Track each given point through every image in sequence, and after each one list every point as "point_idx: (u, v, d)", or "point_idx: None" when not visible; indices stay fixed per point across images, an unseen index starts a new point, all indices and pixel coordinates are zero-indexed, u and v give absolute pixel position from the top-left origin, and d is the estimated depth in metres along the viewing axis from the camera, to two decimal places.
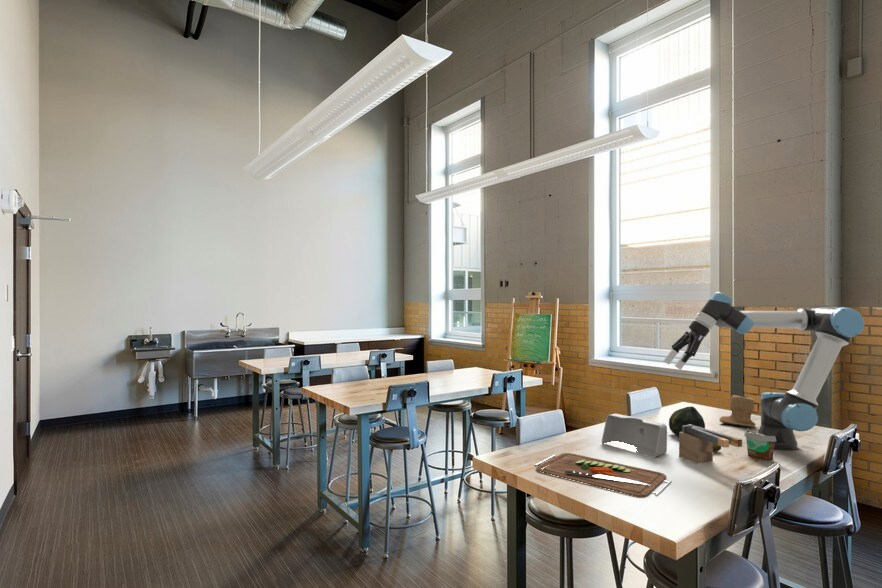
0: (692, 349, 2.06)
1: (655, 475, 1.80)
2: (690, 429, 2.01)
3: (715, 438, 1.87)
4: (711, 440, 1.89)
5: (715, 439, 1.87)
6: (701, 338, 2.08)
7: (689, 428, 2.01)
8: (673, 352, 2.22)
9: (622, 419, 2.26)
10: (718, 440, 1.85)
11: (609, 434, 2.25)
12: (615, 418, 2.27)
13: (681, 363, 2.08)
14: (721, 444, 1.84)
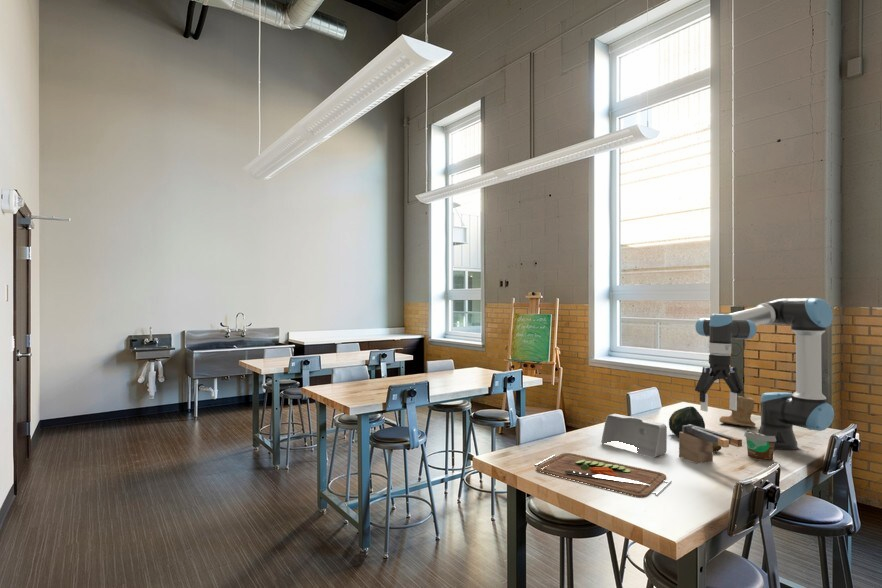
0: None
1: (655, 475, 1.80)
2: (690, 429, 2.01)
3: (715, 438, 1.87)
4: (711, 440, 1.89)
5: (715, 439, 1.87)
6: None
7: (689, 428, 2.01)
8: None
9: (622, 419, 2.26)
10: (718, 440, 1.85)
11: (609, 434, 2.25)
12: (615, 418, 2.27)
13: None
14: (721, 444, 1.84)
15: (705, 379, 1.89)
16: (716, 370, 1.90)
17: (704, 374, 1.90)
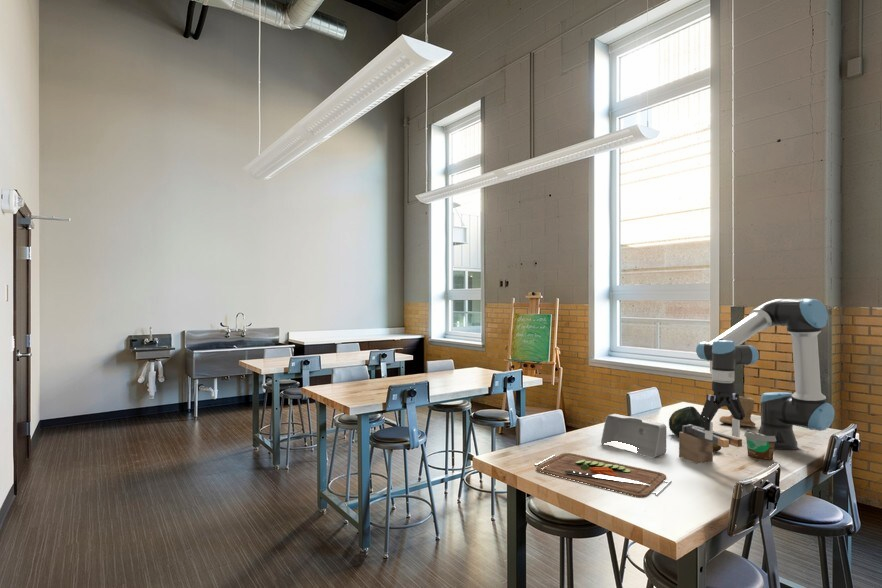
0: None
1: (655, 475, 1.80)
2: (690, 429, 2.01)
3: (715, 438, 1.87)
4: (711, 440, 1.89)
5: (715, 439, 1.87)
6: None
7: (689, 428, 2.01)
8: None
9: (621, 419, 2.26)
10: (718, 440, 1.85)
11: (608, 434, 2.25)
12: (614, 418, 2.27)
13: None
14: (721, 444, 1.84)
15: (710, 407, 1.86)
16: (720, 398, 1.88)
17: (708, 402, 1.87)
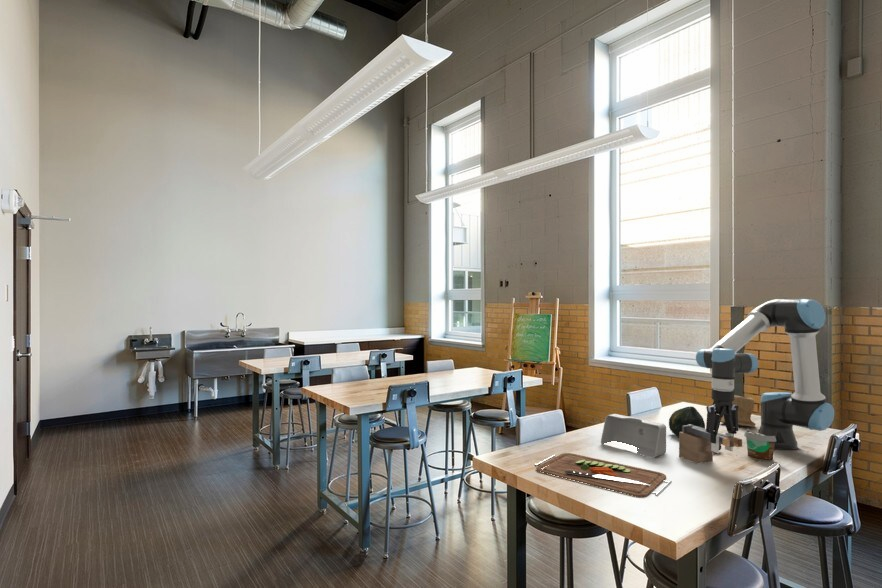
0: None
1: (655, 475, 1.80)
2: (691, 429, 2.00)
3: (719, 438, 1.87)
4: None
5: (720, 438, 1.87)
6: None
7: (689, 428, 2.01)
8: None
9: (621, 419, 2.26)
10: (722, 439, 1.86)
11: (608, 434, 2.25)
12: (614, 418, 2.27)
13: None
14: (726, 444, 1.84)
15: (713, 419, 1.87)
16: (720, 405, 1.88)
17: (710, 414, 1.88)
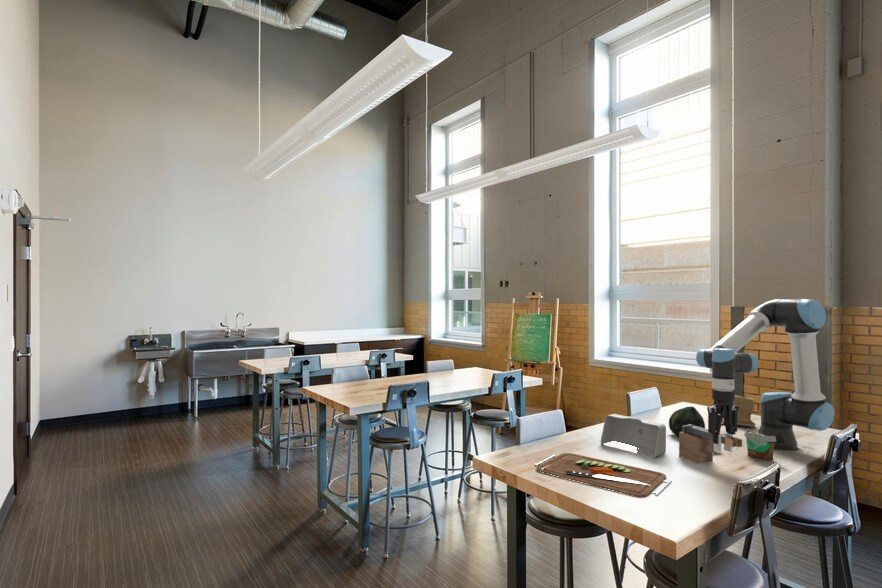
0: None
1: (655, 475, 1.80)
2: (692, 429, 2.00)
3: (722, 438, 1.88)
4: None
5: (722, 438, 1.87)
6: None
7: (690, 428, 2.01)
8: None
9: (621, 419, 2.26)
10: (725, 439, 1.86)
11: (608, 434, 2.25)
12: (614, 418, 2.27)
13: None
14: (729, 443, 1.85)
15: (714, 420, 1.87)
16: (720, 405, 1.88)
17: (711, 415, 1.88)
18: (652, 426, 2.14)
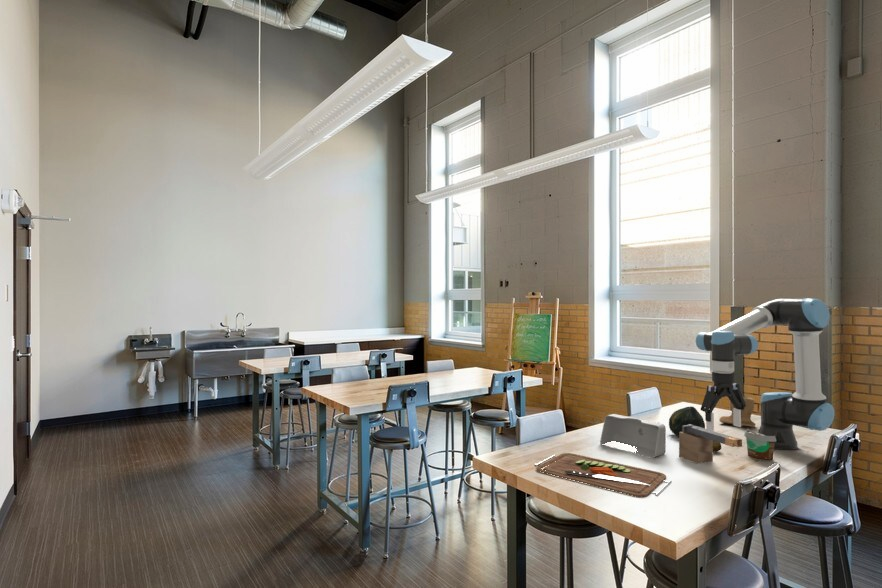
0: None
1: (655, 475, 1.80)
2: (692, 429, 2.00)
3: (722, 438, 1.88)
4: (717, 440, 1.90)
5: (722, 438, 1.87)
6: None
7: (690, 428, 2.01)
8: None
9: (620, 419, 2.25)
10: (725, 439, 1.86)
11: (607, 434, 2.24)
12: (613, 418, 2.27)
13: None
14: (729, 443, 1.85)
15: (710, 398, 1.87)
16: (720, 388, 1.88)
17: (709, 393, 1.88)
18: (652, 426, 2.14)
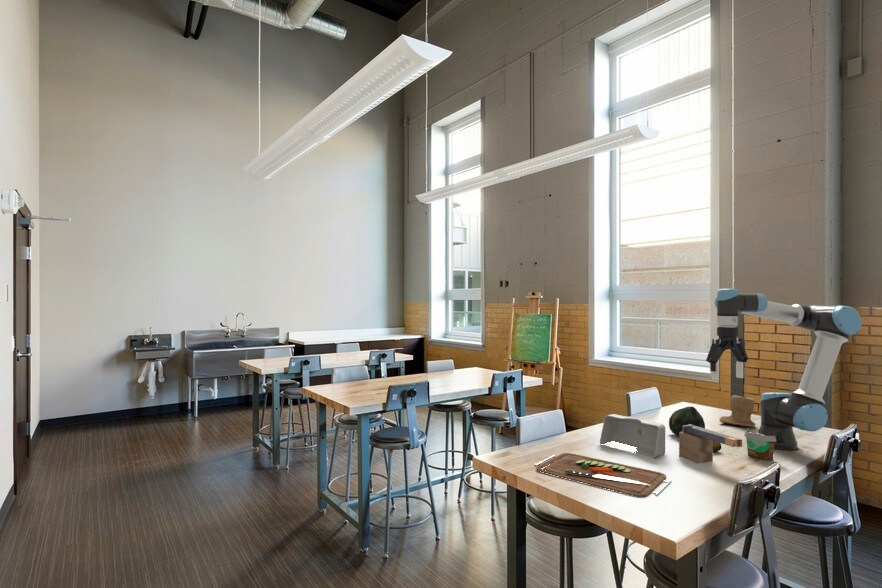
0: None
1: (655, 475, 1.80)
2: (692, 429, 2.00)
3: (722, 438, 1.88)
4: (717, 440, 1.90)
5: (722, 438, 1.87)
6: None
7: (690, 428, 2.01)
8: None
9: (620, 420, 2.25)
10: (725, 439, 1.86)
11: (607, 435, 2.24)
12: (613, 419, 2.26)
13: None
14: (729, 443, 1.85)
15: (715, 350, 2.02)
16: (725, 341, 2.04)
17: (714, 345, 2.03)
18: (651, 426, 2.14)
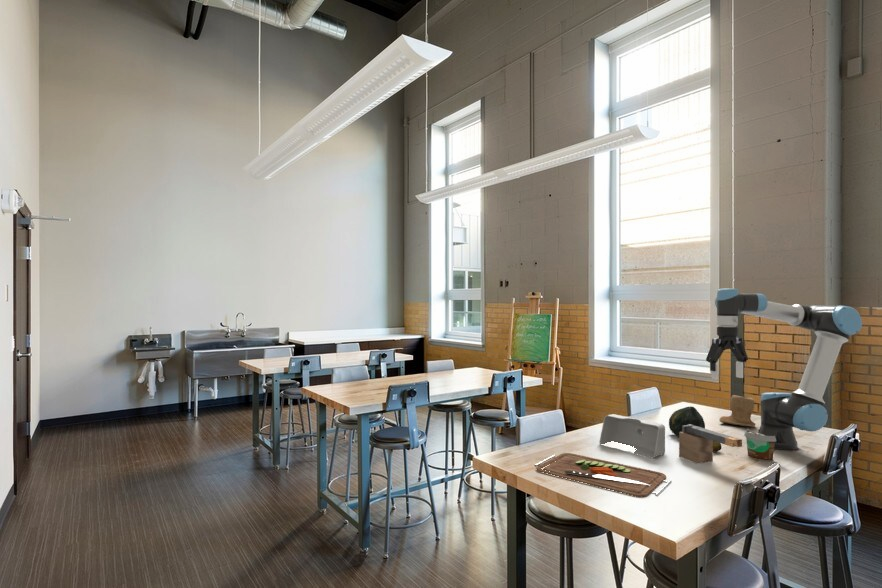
0: None
1: (655, 475, 1.80)
2: (692, 429, 2.00)
3: (722, 438, 1.88)
4: (717, 440, 1.90)
5: (722, 438, 1.87)
6: None
7: (690, 428, 2.01)
8: None
9: (620, 420, 2.25)
10: (725, 439, 1.86)
11: (607, 435, 2.24)
12: (613, 419, 2.26)
13: None
14: (729, 443, 1.85)
15: (715, 349, 2.02)
16: (724, 341, 2.04)
17: (714, 345, 2.03)
18: (651, 426, 2.14)
